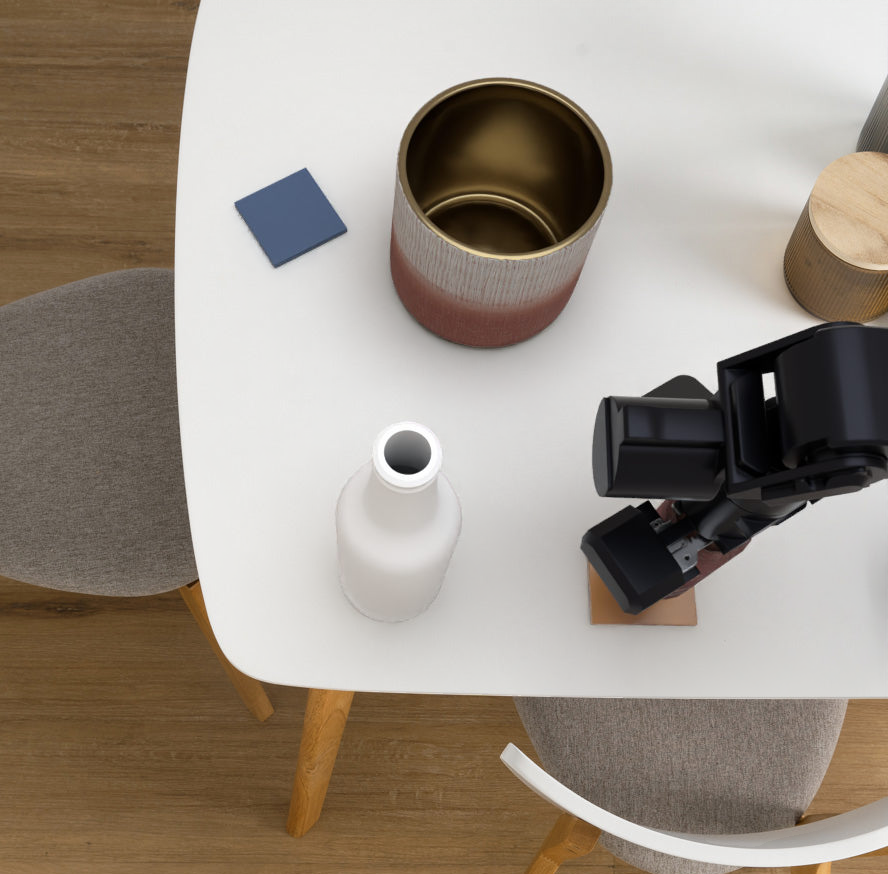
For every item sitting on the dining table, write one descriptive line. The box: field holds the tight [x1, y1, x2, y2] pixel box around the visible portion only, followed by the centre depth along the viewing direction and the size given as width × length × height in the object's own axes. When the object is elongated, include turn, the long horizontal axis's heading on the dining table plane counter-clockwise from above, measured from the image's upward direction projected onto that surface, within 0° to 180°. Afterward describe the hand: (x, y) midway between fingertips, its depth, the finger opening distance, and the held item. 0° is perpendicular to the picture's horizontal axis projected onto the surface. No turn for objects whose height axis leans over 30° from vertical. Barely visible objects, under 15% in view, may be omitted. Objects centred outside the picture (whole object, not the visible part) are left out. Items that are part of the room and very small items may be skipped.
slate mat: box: [233, 166, 348, 269], centre depth 93 cm, size 8×8×1 cm
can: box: [655, 499, 753, 600], centre depth 72 cm, size 6×6×14 cm
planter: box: [389, 76, 614, 348], centre depth 85 cm, size 18×18×16 cm
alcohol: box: [334, 421, 463, 623], centre depth 69 cm, size 9×9×30 cm
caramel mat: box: [586, 558, 699, 627], centre depth 83 cm, size 9×7×1 cm
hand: (681, 538), depth 72 cm, fingers closed on can, 5 cm apart
